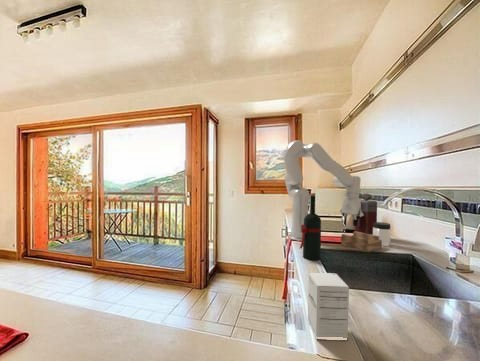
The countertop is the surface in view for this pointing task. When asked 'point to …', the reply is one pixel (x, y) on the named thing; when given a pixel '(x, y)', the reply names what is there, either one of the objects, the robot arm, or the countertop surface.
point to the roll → (350, 222)
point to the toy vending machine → (367, 215)
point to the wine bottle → (311, 233)
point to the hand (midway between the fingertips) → (350, 224)
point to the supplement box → (328, 305)
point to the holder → (361, 241)
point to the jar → (382, 232)
